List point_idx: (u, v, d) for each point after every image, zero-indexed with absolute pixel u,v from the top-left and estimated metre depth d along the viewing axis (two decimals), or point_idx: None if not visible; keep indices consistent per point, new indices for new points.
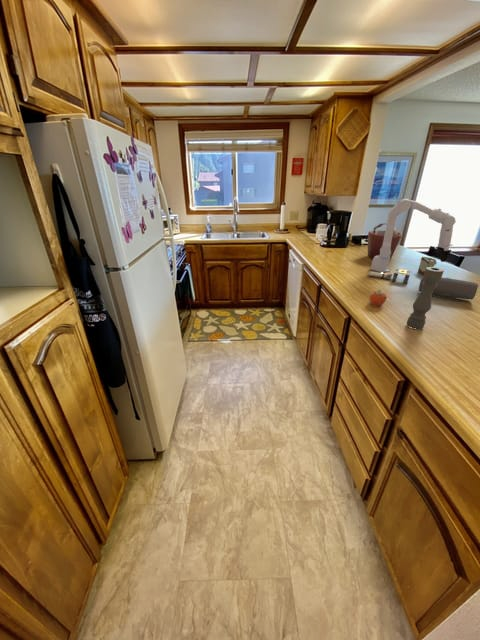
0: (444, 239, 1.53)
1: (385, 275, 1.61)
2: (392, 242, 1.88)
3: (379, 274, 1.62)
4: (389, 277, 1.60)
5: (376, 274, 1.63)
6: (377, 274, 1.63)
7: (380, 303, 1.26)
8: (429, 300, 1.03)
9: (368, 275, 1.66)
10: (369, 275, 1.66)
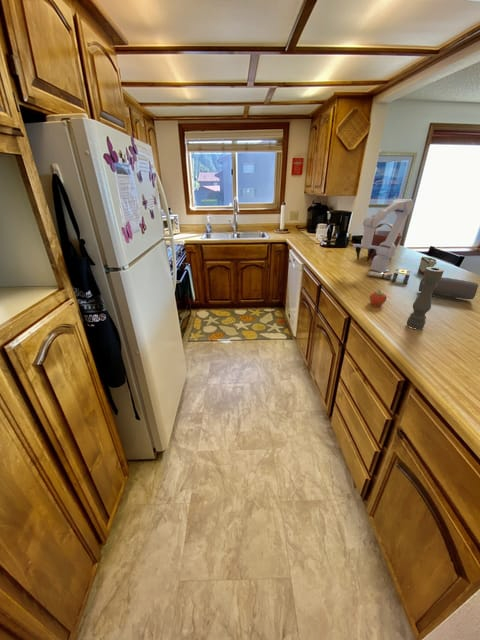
0: None
1: (385, 275, 1.61)
2: None
3: (379, 274, 1.62)
4: (389, 277, 1.60)
5: (376, 274, 1.63)
6: (377, 274, 1.63)
7: (380, 303, 1.26)
8: (429, 300, 1.03)
9: (368, 275, 1.66)
10: (369, 275, 1.66)
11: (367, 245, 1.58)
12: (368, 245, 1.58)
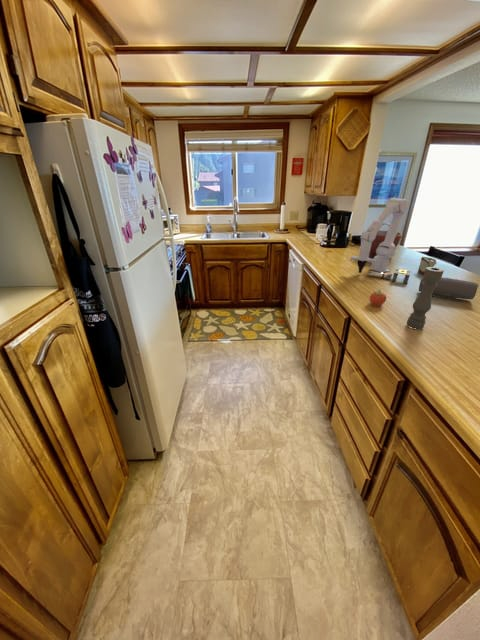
0: None
1: (385, 275, 1.61)
2: None
3: (379, 274, 1.62)
4: (389, 277, 1.60)
5: (376, 274, 1.63)
6: (377, 274, 1.63)
7: (380, 303, 1.26)
8: (429, 300, 1.03)
9: (368, 275, 1.66)
10: (369, 275, 1.66)
11: (364, 258, 1.62)
12: (365, 258, 1.62)
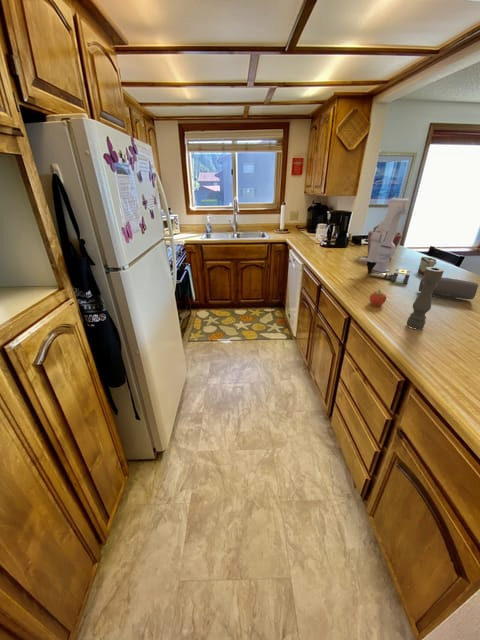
0: None
1: (388, 275, 1.60)
2: None
3: (382, 274, 1.62)
4: (392, 277, 1.59)
5: (379, 274, 1.63)
6: (380, 274, 1.62)
7: (380, 303, 1.26)
8: (429, 300, 1.03)
9: (371, 275, 1.65)
10: (372, 275, 1.65)
11: (374, 259, 1.60)
12: (375, 259, 1.60)
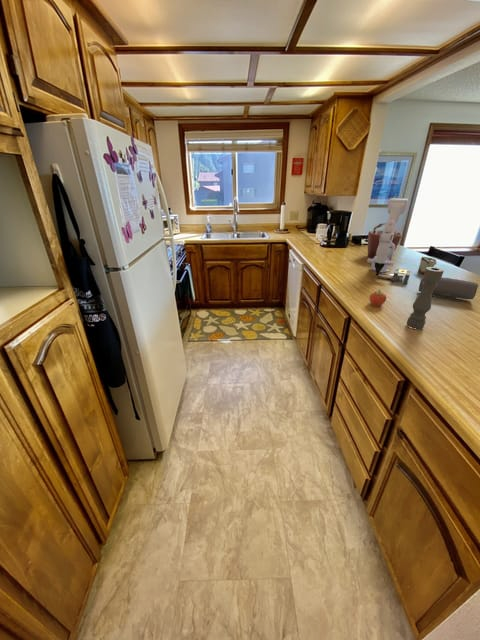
0: None
1: None
2: (392, 242, 1.88)
3: (390, 276, 1.60)
4: (400, 279, 1.57)
5: (387, 276, 1.60)
6: (388, 276, 1.60)
7: (380, 303, 1.26)
8: (429, 300, 1.03)
9: (379, 277, 1.63)
10: (380, 277, 1.63)
11: (382, 260, 1.57)
12: (383, 260, 1.57)
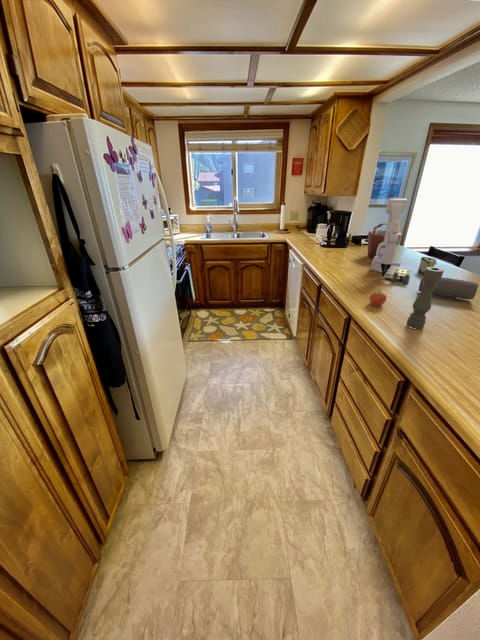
0: None
1: (403, 278, 1.56)
2: None
3: (397, 277, 1.58)
4: None
5: None
6: None
7: (380, 303, 1.26)
8: (429, 300, 1.03)
9: (385, 278, 1.62)
10: (386, 278, 1.61)
11: (388, 261, 1.56)
12: (389, 261, 1.56)
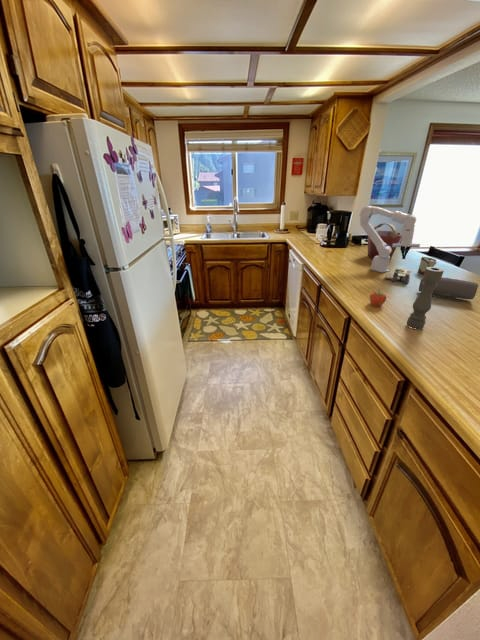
0: None
1: (403, 278, 1.56)
2: (392, 242, 1.88)
3: (397, 277, 1.58)
4: None
5: None
6: None
7: (380, 303, 1.26)
8: (429, 300, 1.03)
9: (385, 278, 1.62)
10: (386, 278, 1.61)
11: (408, 243, 1.60)
12: (409, 243, 1.60)
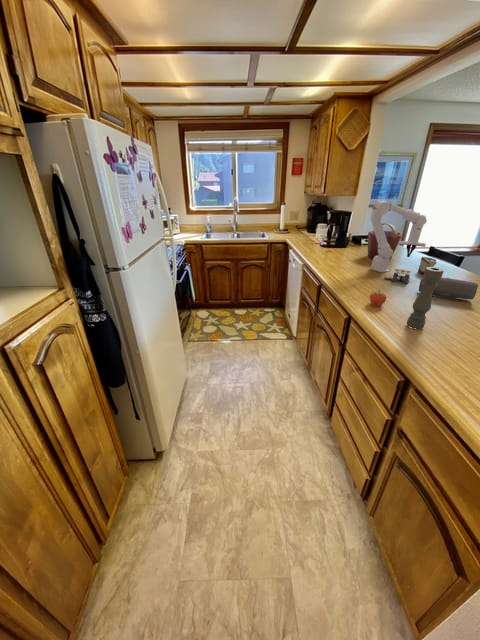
0: None
1: (403, 278, 1.56)
2: (392, 242, 1.88)
3: (397, 277, 1.58)
4: None
5: None
6: None
7: (380, 303, 1.26)
8: (429, 300, 1.03)
9: (385, 278, 1.62)
10: (386, 278, 1.61)
11: (414, 242, 1.64)
12: (415, 242, 1.64)
